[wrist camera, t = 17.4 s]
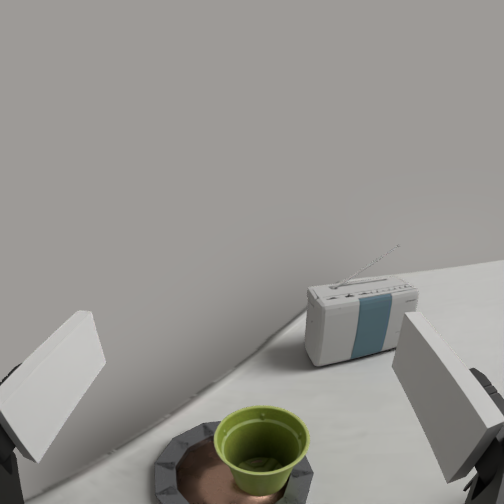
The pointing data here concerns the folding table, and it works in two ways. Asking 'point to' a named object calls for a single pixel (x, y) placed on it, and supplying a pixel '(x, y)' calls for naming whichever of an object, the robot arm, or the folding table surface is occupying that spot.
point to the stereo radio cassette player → (356, 317)
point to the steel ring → (215, 474)
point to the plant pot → (261, 447)
